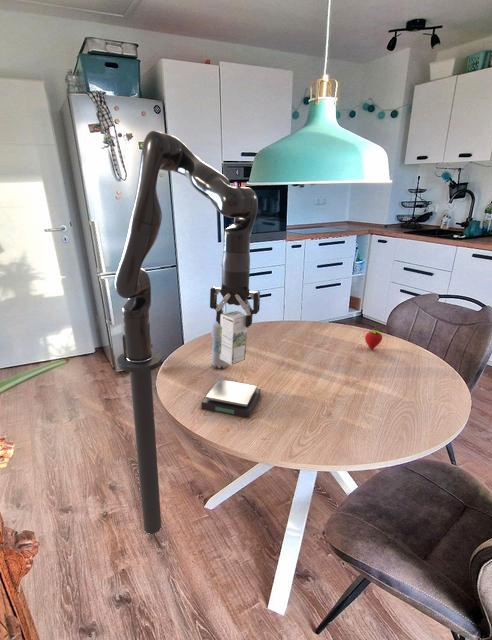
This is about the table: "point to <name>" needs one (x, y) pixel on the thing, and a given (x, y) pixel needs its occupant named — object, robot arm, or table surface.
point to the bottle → (216, 346)
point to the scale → (231, 406)
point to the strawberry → (373, 338)
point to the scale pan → (232, 392)
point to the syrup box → (232, 337)
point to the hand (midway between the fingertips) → (233, 324)
